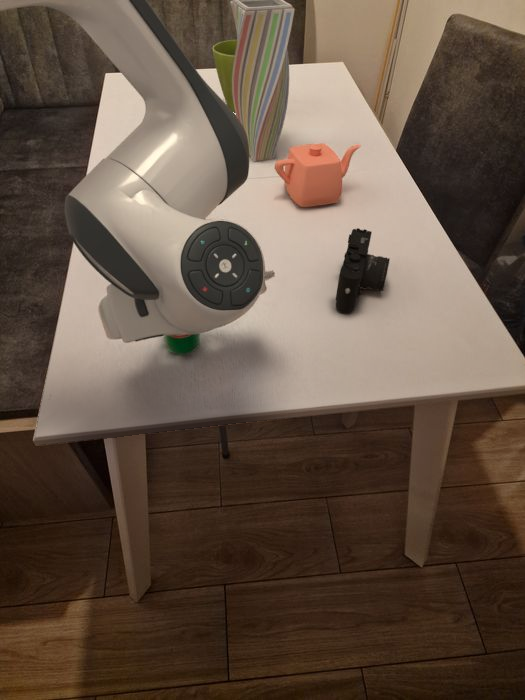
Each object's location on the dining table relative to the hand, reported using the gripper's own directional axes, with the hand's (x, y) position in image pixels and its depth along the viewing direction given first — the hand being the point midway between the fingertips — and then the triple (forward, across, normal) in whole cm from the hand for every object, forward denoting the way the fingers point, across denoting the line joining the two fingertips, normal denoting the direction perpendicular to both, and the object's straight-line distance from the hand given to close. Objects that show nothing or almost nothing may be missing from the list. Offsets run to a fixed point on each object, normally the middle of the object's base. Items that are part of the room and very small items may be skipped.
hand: (177, 307), depth 66 cm
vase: (+42, -36, -32) cm, 64 cm away
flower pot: (+60, -42, -50) cm, 89 cm away
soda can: (+5, 0, +5) cm, 7 cm away
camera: (+5, -30, +5) cm, 31 cm away
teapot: (+27, -39, -17) cm, 50 cm away
